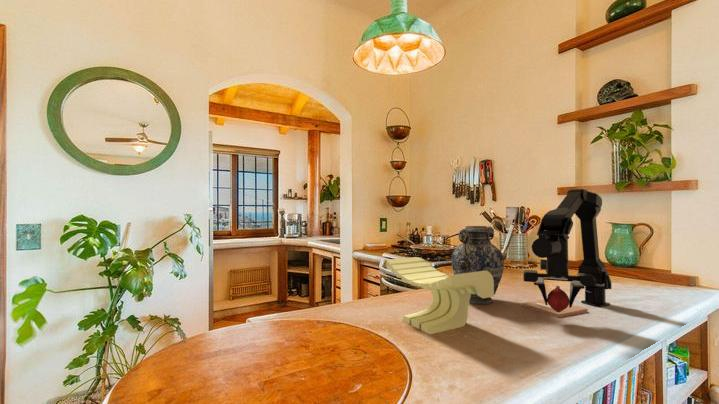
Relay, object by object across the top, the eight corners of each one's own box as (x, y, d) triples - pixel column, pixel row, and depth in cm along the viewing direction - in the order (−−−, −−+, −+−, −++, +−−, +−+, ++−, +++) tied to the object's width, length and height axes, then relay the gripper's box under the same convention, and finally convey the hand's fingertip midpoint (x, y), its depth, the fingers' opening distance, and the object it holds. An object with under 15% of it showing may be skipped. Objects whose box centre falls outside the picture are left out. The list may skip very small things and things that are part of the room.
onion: (572, 315, 100) (572, 288, 100) (551, 314, 101) (550, 287, 101) (565, 309, 106) (564, 284, 106) (544, 309, 107) (544, 283, 107)
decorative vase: (485, 311, 114) (483, 227, 115) (440, 300, 129) (438, 226, 129) (516, 300, 127) (514, 225, 128) (472, 292, 142) (470, 224, 143)
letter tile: (549, 301, 126) (549, 297, 126) (587, 311, 113) (587, 308, 113) (521, 305, 121) (521, 302, 121) (558, 317, 108) (558, 313, 108)
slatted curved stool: (494, 333, 95) (493, 269, 95) (451, 345, 87) (450, 275, 87) (424, 306, 121) (424, 256, 121) (386, 313, 113) (386, 259, 114)
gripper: (588, 252, 107) (589, 302, 107) (522, 250, 115) (523, 296, 115) (596, 257, 97) (597, 312, 97) (523, 254, 105) (524, 305, 105)
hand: (558, 306), depth 104 cm, fingers closed on onion, 6 cm apart
